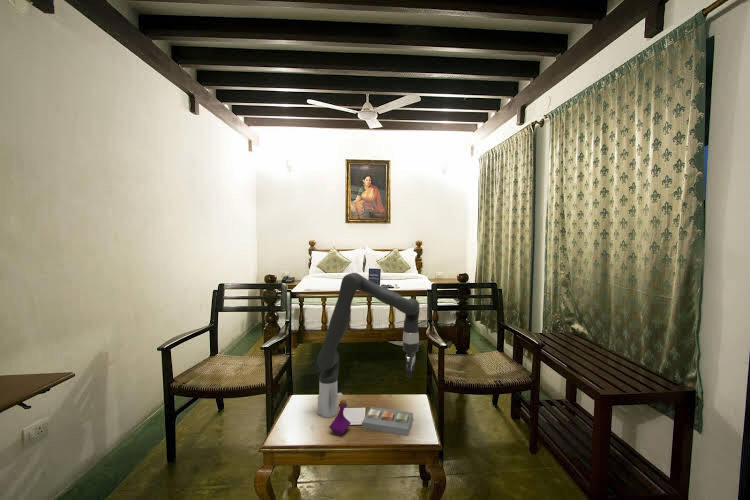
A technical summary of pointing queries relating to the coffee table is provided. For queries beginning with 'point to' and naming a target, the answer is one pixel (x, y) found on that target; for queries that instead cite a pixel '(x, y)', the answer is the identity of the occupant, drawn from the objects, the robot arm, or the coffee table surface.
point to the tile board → (388, 423)
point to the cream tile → (374, 414)
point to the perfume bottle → (340, 419)
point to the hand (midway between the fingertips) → (410, 374)
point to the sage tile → (402, 418)
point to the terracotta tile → (388, 416)
